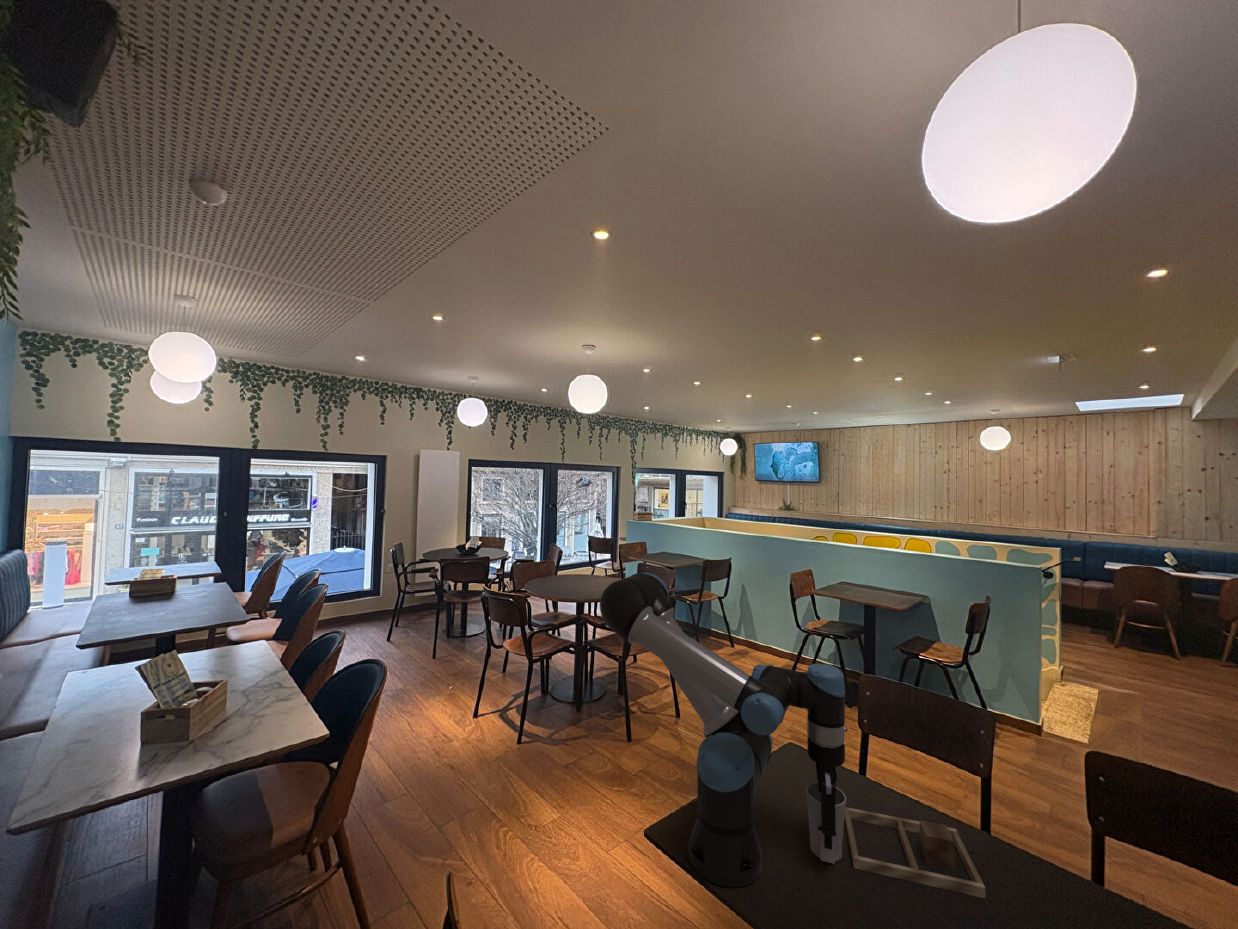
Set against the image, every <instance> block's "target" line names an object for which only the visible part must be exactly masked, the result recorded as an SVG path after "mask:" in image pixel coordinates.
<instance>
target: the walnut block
mask: <svg viewBox="0 0 1238 929" xmlns="http://www.w3.org/2000/svg"><path fill="white" fill-rule="evenodd" d="M919 822H920V833H919V849H920V852H921V856H922V857H923V860H924V862H925V865H926V866H931V867H935V868H941V869H944V870H947V871H948V870H949V871H953V872H954V871H955V845H954V841H953V839H952V837H951V834H950V832H949V830H948V828H947V827H948V826H947V825H946V824H943V823H936V822H933V821H926V820H921V819H920V820H919Z"/></svg>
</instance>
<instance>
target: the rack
mask: <svg viewBox="0 0 1238 929" xmlns="http://www.w3.org/2000/svg"><path fill="white" fill-rule="evenodd" d="M852 820H853V821H856V822H857V821H858V822H863V823H868V824H873V825H878V826H882V827H887V828H892V829H896V830H897V831H896V832H897V833H898V837H899V840H900V843H901V845H902V849H903V852H904V854H905V855H904V856H905V858H906V861H907V863H908V866H904V865H900V864H895V863H891V862H887V861H883V860H878V859H873V858H869V857H864V856H859V852H858V848H857V842H856V837H855V833H854V827H853V822H852ZM844 824H845V827H846V833H847V838H848V844H849V850H850V854H851V855H850V856H851V860H852V864H853V869H854V870H855V869H856V870H859V871H864V872H867V873H868V872H869V873H873V874H877V875H881V876H886V877H890V878H893V879H894V878H895V879H898V880H904V881H907V882H912V883H917V884H920V885H925V886H929V887H933V888H938V889H943V890H947V891H951V892H955V893H959V894H964V895H968V896H973V897H977V898H980V899H986V886H985V884H984V881H983V880H982V878H981V876H980V875H979V873H978V870H977V868H976V866H975V865H974V862H973V861H972V858H971V856H970V854H969V853H968V850H967V848H966V845H965V844H964V842H963V840H962V838H961V836H960V834H959V832H958V830H957V829H956V828H955V827H954V828H953V827H948V826H947V828H948V830H949V832H950V834H951V837H952V839H953V841H954V848H956V851H957V853H958V855H959V858H960V859H961V861H962V864H963V867H964V868H965V871H966V872H967V874H968V876H969V879H970V880H967V879H963V878H958V877H953V876H950V875H944V874H940V873H936V872H932V871H931V872H930V871H927V870H922V869H919V866H918V863H917V860H916V858H915V855H914V853H913V849H912V847H911V846H912V845H911V844H910V840H909V838H908V835H907V832H911V833H916V834H920V820H919V821H918V820H913V819H909V818H908V819H907V818H902V817H898V816H892V815H887V814H882V813H877V812H872V811H867V810H862V809H858V808H853V807H848V806H847V807H845V816H844ZM906 831H907V832H906Z"/></svg>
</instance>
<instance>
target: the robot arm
mask: <svg viewBox="0 0 1238 929" xmlns="http://www.w3.org/2000/svg"><path fill="white" fill-rule="evenodd" d="M669 599H670V596H669V590H668V587H667V584H666V583H665V581H664V580H663V579H662V578H660V577H659V576H658V575H656V574H654V573H651V572H640V573H639V572H637V573H634V574H631V575H630V576H627V577H625V578H622V579H619V580H616V581H613V582H611V583H610V584H608V586H607V587H605V589H604V590H603V592H602V593H601V596H600V601H599V610H600V614H601V617H602V619H603V621H604V623H606V625H607V626H608V627H609V628H610V630H611V631H613V633H615V634H616V635H617V636H619V637H620V638H621V639H623V640H624V641H626V642H627V643H629V645H633V644H638V645H640V646H641V647H643V648H644V649H645V650H647V651H648V652H650V653H652V654H653V655H655V657H658V658H659V659H660V660H661V661H662V663H663V664H664V666H665V667H666V668H667V670H668V671H669V673H670V674H671V676H672V677H673V679H674V681H675V682H676V684H677V685H678V687H679V688H680V690H681V691H682V692H683V694H684V696H685V697H686V698H687V700H688V702H689V703H690V704H691V706H692V708H693V709H694V711H695V712H696V714H697V715H698V717H699V718H700V720H701V721H702V723H703V736H704V739H703V740H702V741H701V742H700V744H699V747H698V750H697V757H696V769H697V770H696V771H697V772H696V774H697V775H696V777H697V778H696V781H697V785H696V786H697V792H696V793H697V794H696V795H697V796H696V797H697V798H696V799H697V800H696V801H697V804H696V805H697V807H696V808H697V811H696V812H697V815H696V820H695V822H694V824H693V828H692V830H691V834H690V836H689V837H690V838H689V842H688V858H689V861H690V864H691V865H692V868H693V869H694V870H695V872H696V873H697V874H698V875H699V876H701V877H702V878H703V879H705V880H706V881H708V882H710V883H712V884H714V885H717V886H720V887H726V888H742V887H746V886H748V885H750V884H753V883H754V882H755V881H757V879H758V878H759V877H760V875H761V874H762V872H763V871H762V870H763V851H762V848H761V845H760V842H759V838H758V835H757V832H756V828H755V824H754V815H755V814H754V810H755V809H754V806H755V805H754V803H755V802H754V798H755V797H754V796H755V791H756V789H757V788H756V787H757V786H758V784H759V781H760V779H761V777H762V776H763V773H764V771H765V769H766V768H767V766H768V764H769V763H770V760H771V756H772V751H773V738H772V735H771V734H773V733H775V731H776V730H777V729H778V728H779V726H780V725H781V724H782V723H783V721H784V718H785V715H786V712H787V711H788V709H789V707H792V708H793V707H794V708H799V709H805V710H807V716H806V719H807V720H806V725H807V726H806V727H807V728H806V729H807V730H806V733H807V746H806V747H807V751H806V752H807V756H808V757H809V759H810V760H812V761H813V762H814V763H815V771H816V780H817V783H818V790H819V792H820V793H821V823H822V825H821V827H820V826H818V830H820V831H821V858H820V861H821V862H826V863H830V864H834V865H835V864H836V861H835V836H836V828H835V795H836V787H837V786H836V785H837V784H836V782H837V779H838V778H837V777H838V775H837V774H838V773H837V771H836V767H841V766H842V765H844V764H845V762H846V745H845V740H846V737H845V735H846V734H845V733H847V732H849V731H848V730H849V729H848V727H847V726H845V724H846V722H845V718H846V717H845V716H846V714H845V712H846V689H845V677H844V674H843V672H842V671H841V669H839V668H838V667H836V666H835V665H831V664H826V663H813V664H809V666H808V667H807V670H806V671H799V670H794V669H790V668H789V669H788V668H783V667H780V666H774V665H772V664H768V665H767V664H763V663H762V664H759V663H757V664H756V665H755V666H754V667H753V669H752V672H751V675H750V674H749V673H748V672H745V671H744V670H743V669H740V667H738V666H736V665H734V664H733V663H731V662H730V661H728V660H727V659H725V658H723V657H722V656H721V655H719V654H718V653H716V652H714V651H713V650H711V649H710V648H708V647H707V646H705V645H704V644H702V643H700V642H698V641H697V640H695V639H694V638H692V637H690V636H689V635H687V634H686V633H684V631H683V629H682V628H681V626H680V625H679V623H677V621H676V620H675V617H674V611H675V607H673V605H672V603H671V602H670V600H669Z"/></svg>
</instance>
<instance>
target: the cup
mask: <svg viewBox="0 0 1238 929" xmlns="http://www.w3.org/2000/svg"><path fill="white" fill-rule="evenodd" d="M806 801H807V815H808V828H809V840H810V844H809V846H810V850H811V852H812V853H813V854H814V856H816V857H818V859H821V831H820V830H818V826H820V827H821V825H822V823H821V793H820V792H819V790H818V782H812V783H810V784H808V785H807V786H806ZM846 804H847V797H846V794H845V793H844V791H842V790H841V789H840V788H839V787H837V786H836V795H835V828H836V836H835V862H837V861H840V860H841V859H842V857H843V839H844V826H845V818H844V816H845V807H846Z"/></svg>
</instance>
